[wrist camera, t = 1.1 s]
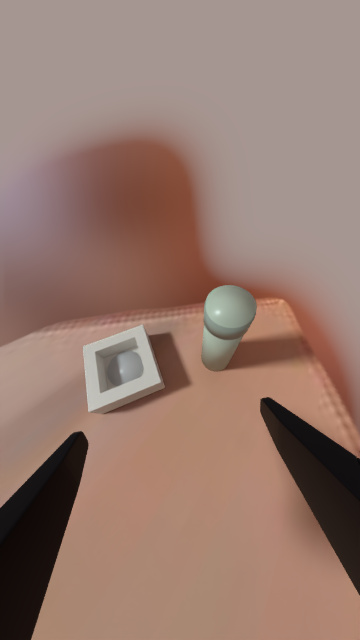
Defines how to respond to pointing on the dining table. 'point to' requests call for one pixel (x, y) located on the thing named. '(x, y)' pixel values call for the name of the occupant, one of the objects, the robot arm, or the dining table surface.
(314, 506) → the robot arm
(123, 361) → the housing
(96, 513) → the dining table surface
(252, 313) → the toggle switch lever
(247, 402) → the dining table surface
